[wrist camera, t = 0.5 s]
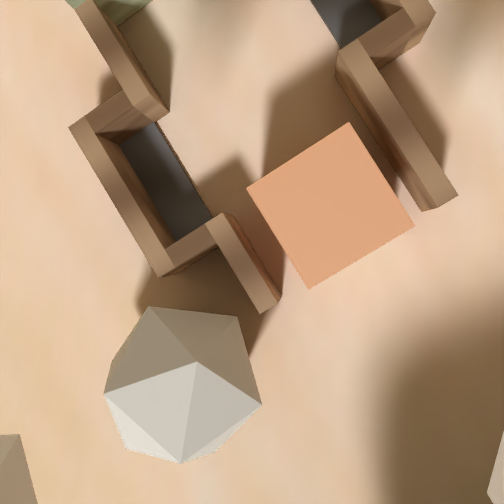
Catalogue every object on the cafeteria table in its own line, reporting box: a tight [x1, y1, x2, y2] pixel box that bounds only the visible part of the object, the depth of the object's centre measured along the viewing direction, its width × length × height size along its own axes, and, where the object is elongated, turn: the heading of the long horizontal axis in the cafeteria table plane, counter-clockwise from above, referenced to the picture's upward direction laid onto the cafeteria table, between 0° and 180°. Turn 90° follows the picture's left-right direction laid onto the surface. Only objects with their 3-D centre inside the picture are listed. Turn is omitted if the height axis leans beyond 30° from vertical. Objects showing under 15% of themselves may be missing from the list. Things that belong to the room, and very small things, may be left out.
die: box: [104, 306, 262, 464], centre depth 25 cm, size 8×9×10 cm
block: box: [246, 122, 415, 290], centre depth 25 cm, size 6×6×6 cm
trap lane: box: [65, 0, 458, 314], centre depth 25 cm, size 22×20×6 cm
